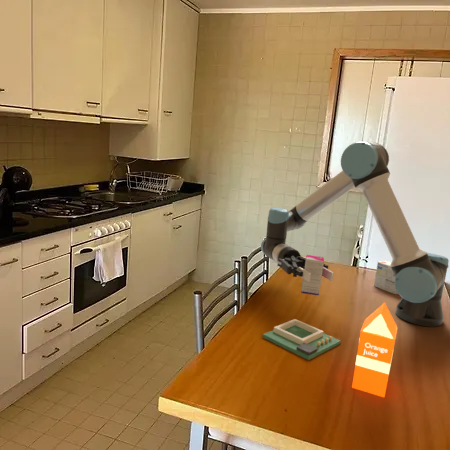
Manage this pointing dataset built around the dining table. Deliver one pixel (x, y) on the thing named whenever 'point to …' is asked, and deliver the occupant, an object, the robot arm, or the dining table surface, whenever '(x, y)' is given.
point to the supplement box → (313, 275)
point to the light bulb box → (385, 277)
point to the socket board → (301, 339)
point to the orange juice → (375, 352)
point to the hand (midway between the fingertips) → (321, 277)
